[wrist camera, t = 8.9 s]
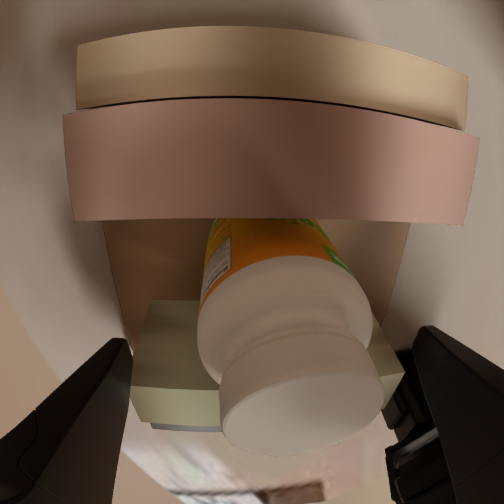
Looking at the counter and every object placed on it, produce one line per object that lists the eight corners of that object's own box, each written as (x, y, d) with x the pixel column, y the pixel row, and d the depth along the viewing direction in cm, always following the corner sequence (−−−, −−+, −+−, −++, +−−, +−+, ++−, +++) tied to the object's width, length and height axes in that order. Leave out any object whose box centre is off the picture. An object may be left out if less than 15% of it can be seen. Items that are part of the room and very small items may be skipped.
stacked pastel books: (418, 80, 12) (517, 85, 6) (364, 348, 20) (398, 424, 14) (100, 64, 11) (11, 49, 5) (140, 353, 19) (118, 439, 13)
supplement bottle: (338, 219, 14) (450, 368, 6) (283, 301, 16) (324, 468, 8) (239, 168, 13) (261, 308, 4) (190, 265, 15) (162, 448, 6)
